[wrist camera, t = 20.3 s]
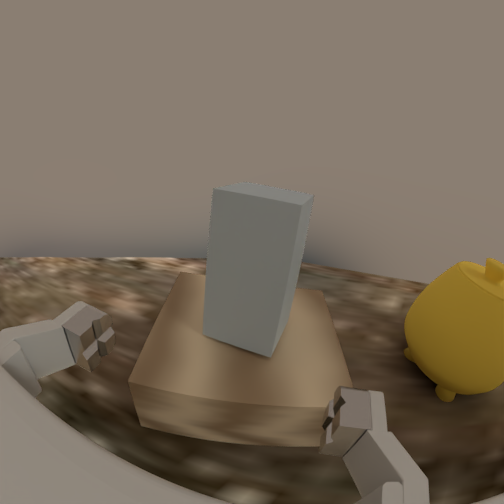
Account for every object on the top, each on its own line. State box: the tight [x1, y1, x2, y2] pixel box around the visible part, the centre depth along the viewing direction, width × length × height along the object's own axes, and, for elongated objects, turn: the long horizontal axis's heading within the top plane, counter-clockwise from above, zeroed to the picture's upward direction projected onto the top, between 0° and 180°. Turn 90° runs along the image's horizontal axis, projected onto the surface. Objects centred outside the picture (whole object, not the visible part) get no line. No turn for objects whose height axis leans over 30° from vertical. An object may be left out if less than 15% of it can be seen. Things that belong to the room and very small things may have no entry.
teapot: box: [404, 258, 504, 402], centre depth 23 cm, size 20×16×14 cm
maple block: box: [128, 272, 353, 447], centre depth 22 cm, size 14×14×6 cm
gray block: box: [203, 182, 314, 358], centre depth 19 cm, size 5×5×10 cm
